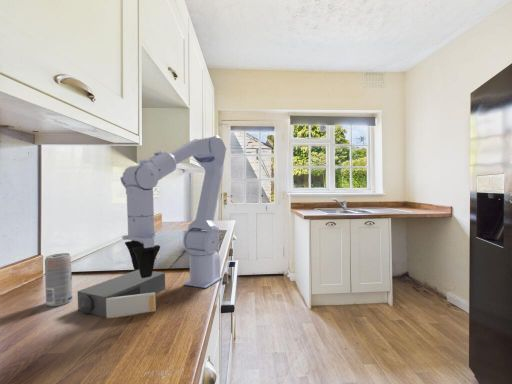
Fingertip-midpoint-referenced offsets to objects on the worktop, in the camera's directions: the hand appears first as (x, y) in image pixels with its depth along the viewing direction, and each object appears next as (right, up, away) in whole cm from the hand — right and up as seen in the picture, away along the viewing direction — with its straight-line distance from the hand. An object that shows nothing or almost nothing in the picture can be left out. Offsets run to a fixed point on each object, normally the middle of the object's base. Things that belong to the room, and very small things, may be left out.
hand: (142, 273), depth 63 cm
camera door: (-1, -8, -4) cm, 9 cm away
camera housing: (-7, -9, +6) cm, 13 cm away
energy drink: (-23, -9, +5) cm, 25 cm away
